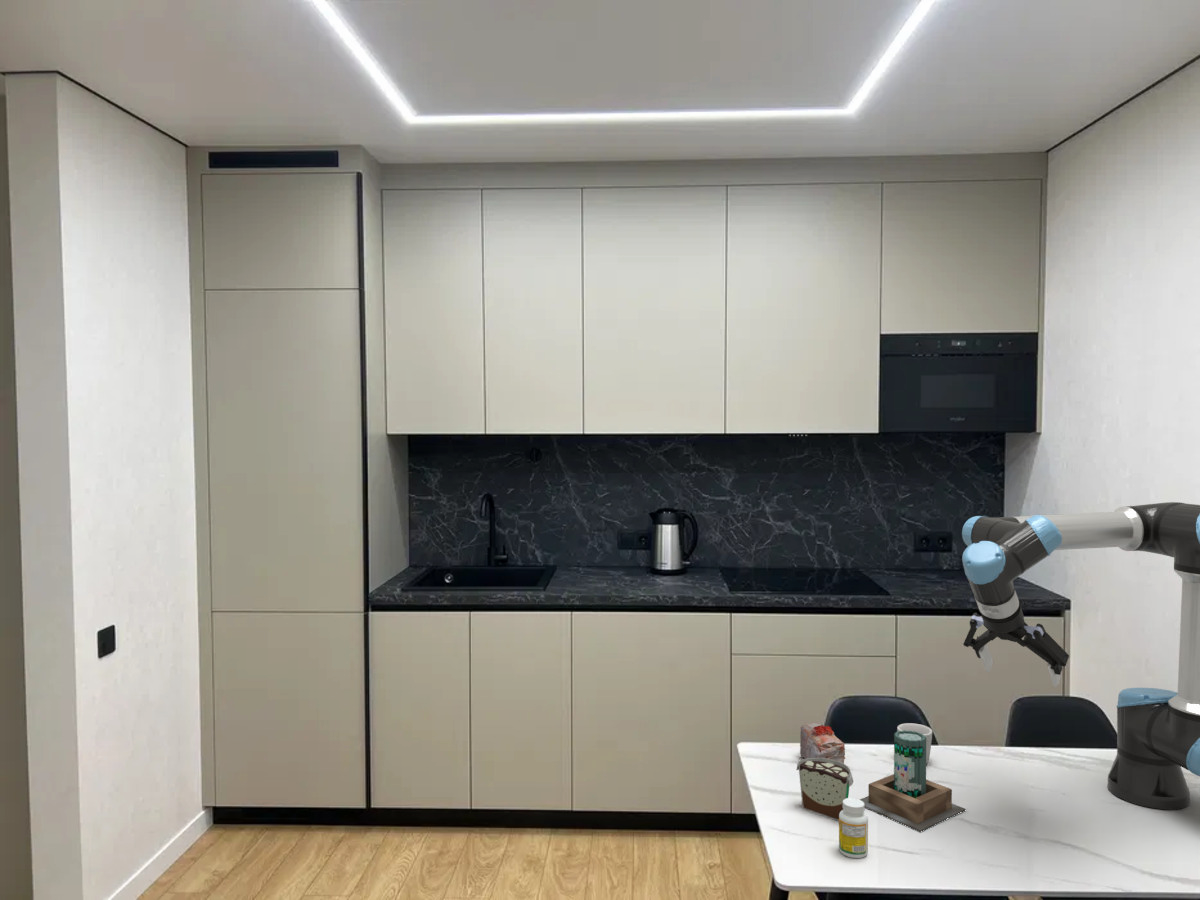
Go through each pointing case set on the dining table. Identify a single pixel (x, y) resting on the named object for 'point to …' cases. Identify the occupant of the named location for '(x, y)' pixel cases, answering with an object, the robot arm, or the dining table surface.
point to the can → (910, 763)
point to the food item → (820, 743)
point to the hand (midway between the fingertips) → (1022, 673)
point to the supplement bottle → (853, 829)
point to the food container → (824, 785)
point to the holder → (911, 804)
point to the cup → (919, 729)
